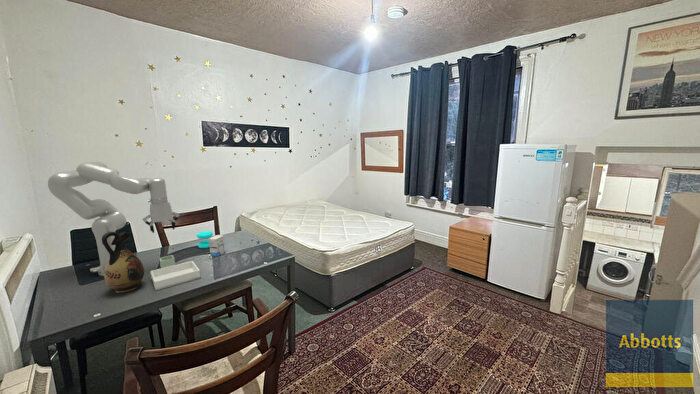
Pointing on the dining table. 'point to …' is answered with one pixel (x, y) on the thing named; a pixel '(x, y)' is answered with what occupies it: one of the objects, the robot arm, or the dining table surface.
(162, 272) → the white shallow tray
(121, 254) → the ceramic jug
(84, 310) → the dining table surface
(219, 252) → the ink box
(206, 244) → the donuts
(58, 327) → the dining table surface
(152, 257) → the dining table surface
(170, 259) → the box
